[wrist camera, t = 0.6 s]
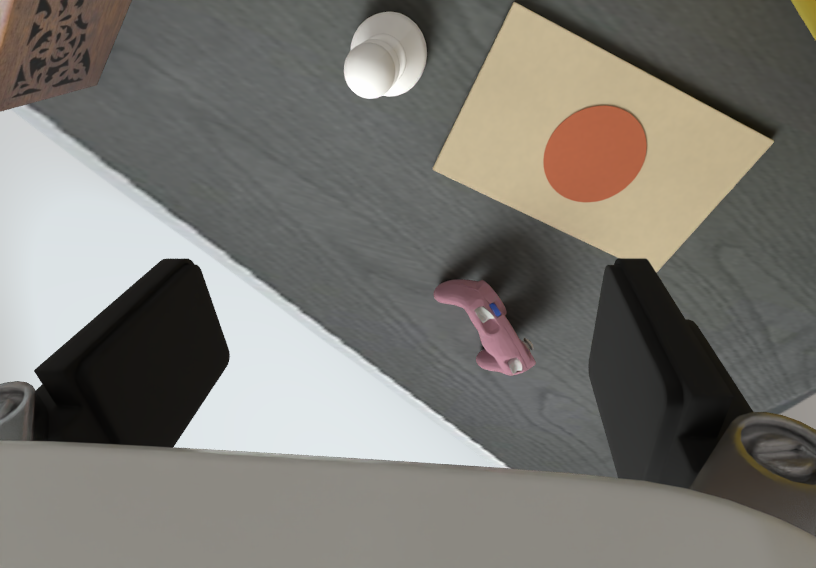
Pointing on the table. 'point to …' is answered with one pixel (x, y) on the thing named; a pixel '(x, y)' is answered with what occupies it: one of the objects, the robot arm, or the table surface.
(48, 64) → the tissue box cover
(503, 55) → the mat
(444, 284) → the video game controller
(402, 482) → the robot arm
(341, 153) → the table surface
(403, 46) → the chess pawn
